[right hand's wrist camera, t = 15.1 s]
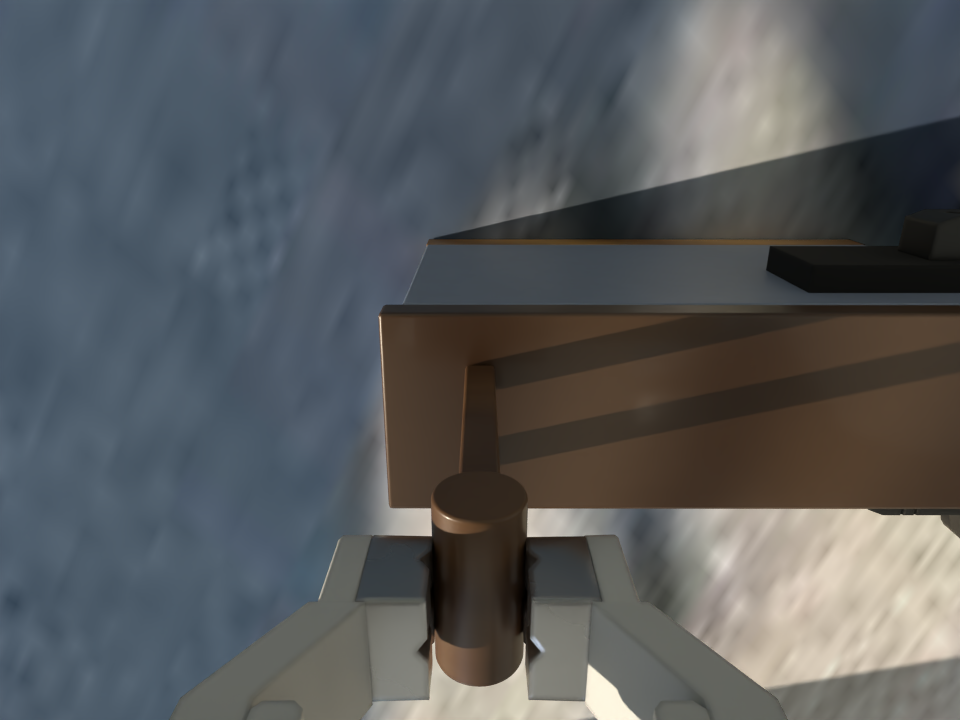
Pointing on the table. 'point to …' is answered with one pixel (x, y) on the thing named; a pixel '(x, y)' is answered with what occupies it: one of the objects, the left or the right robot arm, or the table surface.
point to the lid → (649, 428)
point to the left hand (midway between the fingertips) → (772, 369)
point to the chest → (623, 274)
